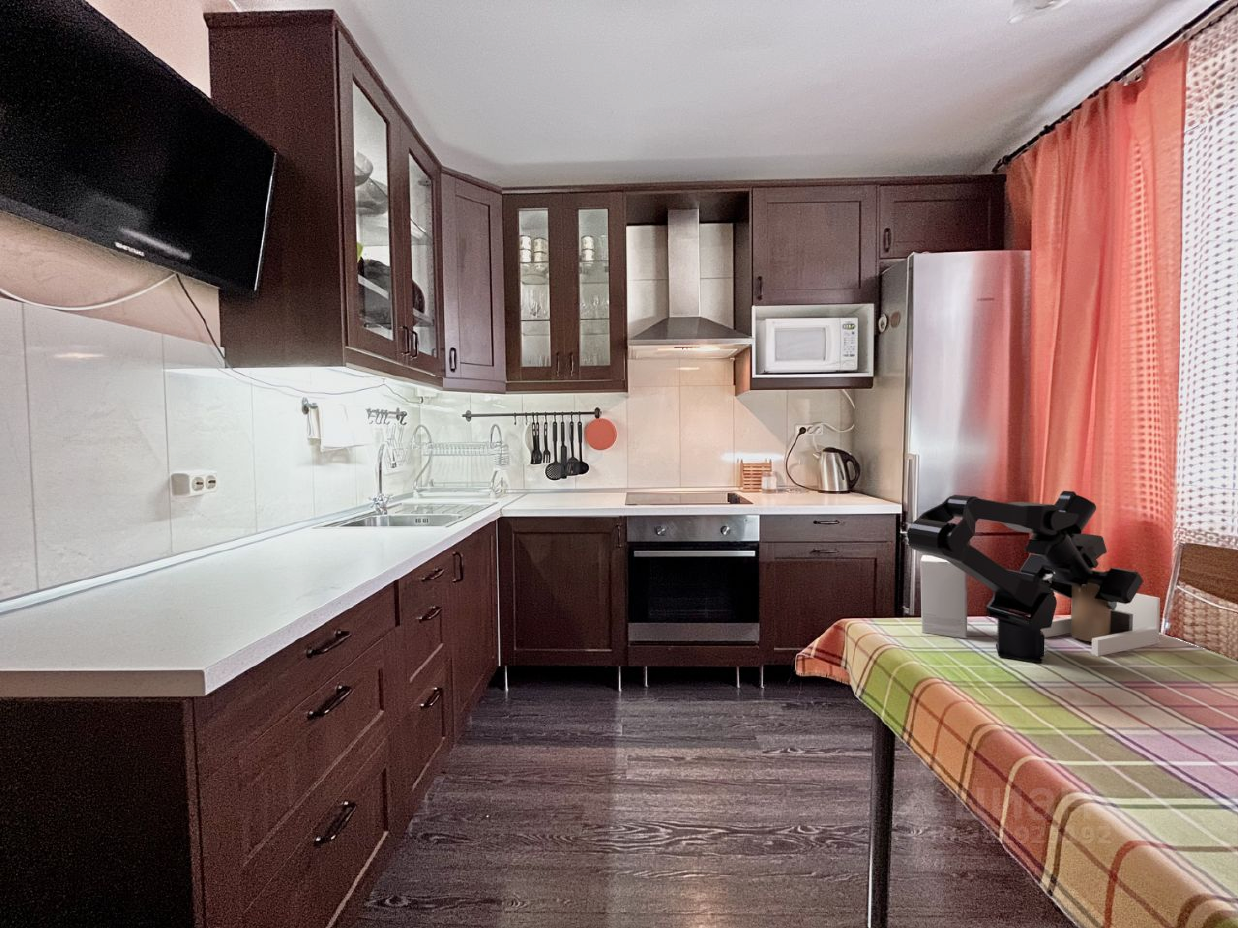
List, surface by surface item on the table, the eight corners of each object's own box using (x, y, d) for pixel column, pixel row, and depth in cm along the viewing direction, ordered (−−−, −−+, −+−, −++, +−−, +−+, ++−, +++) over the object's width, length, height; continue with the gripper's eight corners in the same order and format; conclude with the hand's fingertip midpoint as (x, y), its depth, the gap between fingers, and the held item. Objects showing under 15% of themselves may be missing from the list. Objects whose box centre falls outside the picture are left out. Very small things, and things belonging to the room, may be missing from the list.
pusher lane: (1097, 656, 101) (1098, 607, 101) (1035, 636, 112) (1036, 592, 112) (1158, 643, 108) (1160, 597, 107) (1094, 626, 118) (1095, 584, 118)
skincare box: (966, 630, 116) (967, 557, 115) (966, 640, 110) (967, 563, 110) (921, 624, 120) (922, 553, 120) (919, 632, 115) (920, 558, 114)
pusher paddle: (1129, 642, 107) (1129, 614, 107) (1082, 629, 114) (1083, 603, 114) (1132, 641, 107) (1132, 613, 107) (1085, 629, 115) (1086, 602, 115)
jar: (1073, 639, 108) (1075, 573, 108) (1067, 630, 113) (1069, 567, 113) (1114, 644, 105) (1115, 577, 105) (1106, 635, 110) (1107, 571, 110)
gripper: (1138, 527, 98) (1174, 583, 102) (1030, 515, 116) (1064, 563, 120) (1108, 575, 96) (1146, 630, 100) (1002, 555, 113) (1038, 603, 117)
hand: (1095, 603), depth 109 cm, fingers closed on jar, 6 cm apart
